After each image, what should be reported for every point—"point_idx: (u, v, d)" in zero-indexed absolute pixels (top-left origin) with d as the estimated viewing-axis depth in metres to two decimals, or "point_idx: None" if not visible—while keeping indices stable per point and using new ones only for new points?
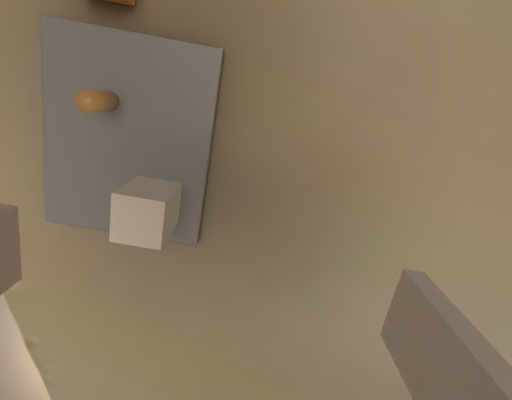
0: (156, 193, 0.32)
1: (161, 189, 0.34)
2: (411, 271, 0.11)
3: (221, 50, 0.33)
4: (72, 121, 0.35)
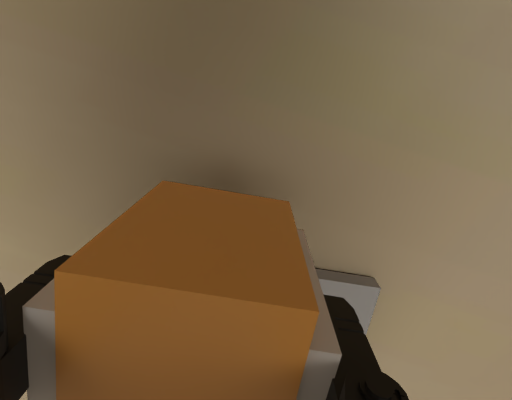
0: None
1: None
2: None
3: (378, 289, 0.24)
4: None
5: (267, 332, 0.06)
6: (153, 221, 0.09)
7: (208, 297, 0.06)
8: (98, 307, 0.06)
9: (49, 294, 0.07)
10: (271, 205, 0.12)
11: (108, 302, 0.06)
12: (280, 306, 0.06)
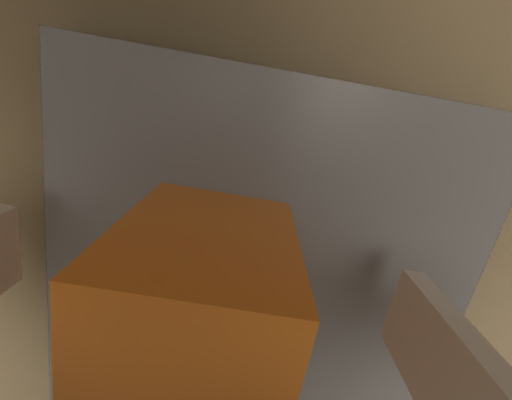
0: None
1: None
2: (411, 271, 0.11)
3: None
4: None
5: (266, 342, 0.06)
6: (151, 226, 0.09)
7: (206, 307, 0.06)
8: (94, 317, 0.06)
9: None
10: (271, 207, 0.12)
11: (105, 313, 0.06)
12: (280, 316, 0.06)
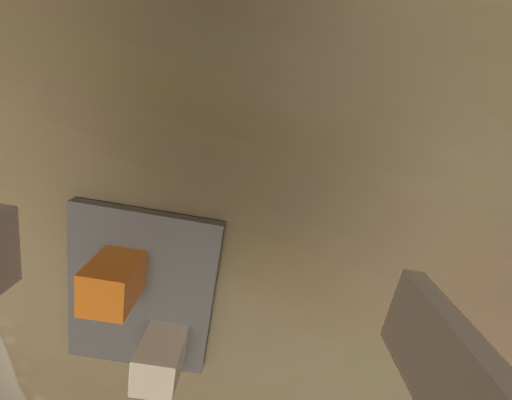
0: (167, 354, 0.37)
1: (171, 343, 0.39)
2: (411, 271, 0.11)
3: (222, 227, 0.38)
4: None
5: (115, 287, 0.33)
6: (97, 262, 0.35)
7: (103, 280, 0.32)
8: (82, 282, 0.32)
9: None
10: (139, 253, 0.38)
11: (84, 281, 0.32)
12: (117, 282, 0.32)
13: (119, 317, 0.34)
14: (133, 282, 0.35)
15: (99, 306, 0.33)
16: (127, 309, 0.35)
